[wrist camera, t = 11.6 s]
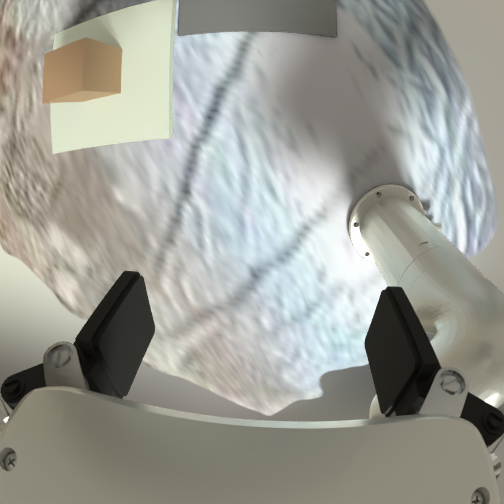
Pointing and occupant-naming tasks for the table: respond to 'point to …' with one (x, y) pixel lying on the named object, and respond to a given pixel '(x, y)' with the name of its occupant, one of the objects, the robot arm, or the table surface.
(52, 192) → the table surface
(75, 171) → the table surface
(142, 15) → the lid
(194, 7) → the mat
